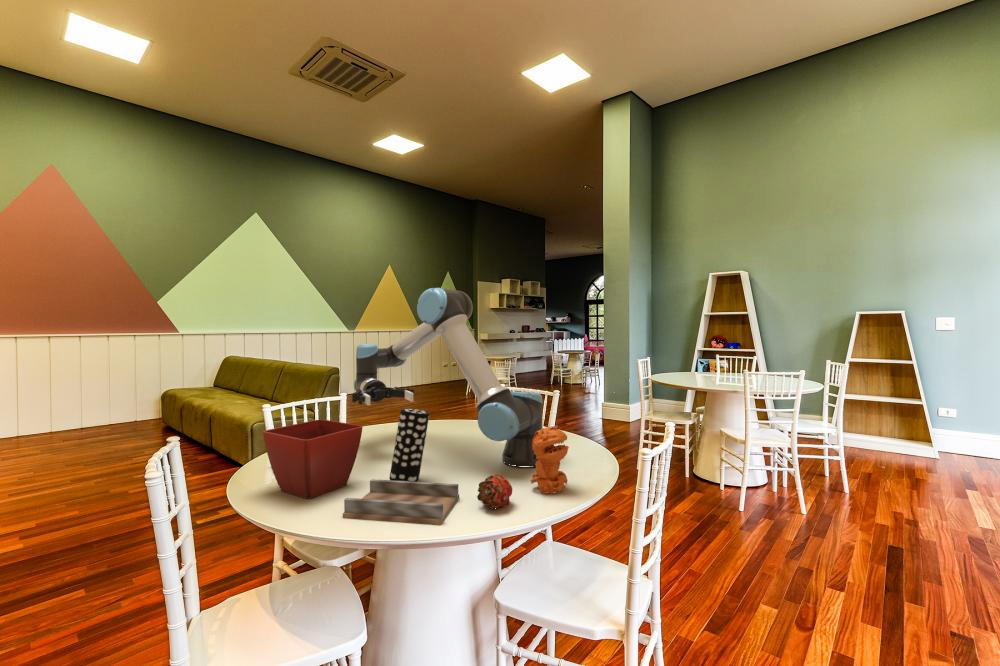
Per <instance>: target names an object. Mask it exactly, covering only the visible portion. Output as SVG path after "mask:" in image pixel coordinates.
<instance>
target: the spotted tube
mask: <svg viewBox="0 0 1000 666" xmlns="http://www.w3.org/2000/svg"><path fill="white" fill-rule="evenodd" d="M399 413H400V414H399V419H398V424H397V430H396V437H395V443H394V447H393V448H394V449H393V455H392V460H391V461H392V462H391V467H390V473H389V478H388V480H394V481H412V482H420V481H419V480H420V475H421V467H422V461H423V456H424V450H425V444H426V439H427V438H426V437H427V432H428V426H429V419H430V412H429V411H428V410H424V409H418V408H412V407H411V408H408V407H407V408H404V407H403V408H401V409H400V411H399Z"/></svg>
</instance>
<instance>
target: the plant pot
mask: <svg viewBox="0 0 1000 666" xmlns="http://www.w3.org/2000/svg"><path fill="white" fill-rule="evenodd" d="M363 428H364V427H363V425H358V424H352V423H347V422H342V421H336V420H335V421H334V420H329V419H323V418H320V419H319V418H318V419H313V420H309V421H304V422H300V423H294V424H289V425H285V426H284V425H283V426H280V427H275V428H270V429H266V430H263V431H262V434H263V440H264V446H265V450H266V454H267V457H268V462H269V464H270V466H271V467H270V468H271V470H272V473H273V476H274V478H275V480H276V483H277V485H278V486H279V490H281V491H282V492H285V493H288V494H292V495H294V494H295V496H298V497H301V498H304V497H305V498H304V499H313V498H315V496H316V497H318V496H321V495H324V494H327V493H329V492H332V491H334V490H337V489H339V488H342V487H345V486H347V485H348V484H347V483H348V482H349V479H350V476H351V474H352V471H353V468H354V465H355V462H356V459H357V455H358V452H359V447H360V444H361V443H360V442H361V439H362V432H363ZM312 497H313V498H312Z"/></svg>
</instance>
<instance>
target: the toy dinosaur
mask: <svg viewBox="0 0 1000 666" xmlns="http://www.w3.org/2000/svg"><path fill="white" fill-rule="evenodd" d="M558 427H559V425H557V424H555V425H554V426H546V427H544V428H542V429H541V430H539V431H536V432H535V435H534V437H533V442H532V447H533V448H532V449H533V451H534V454H535V455H536V459H538V460H539V461H536V463H535V466H536V467H535V472H534V473H533V474H532V478H531V479H529V481H530V482H529V483H531V485H533V484H534V483H537V487H538V491H540V490H541V491H543V492H548V493H547V494H554V493H553V492H557V493H559V492H561V491H562V489H564V490H566V485H568V477H567V475H566V474H567V473H565V472H564V471H562V470H561V471H560V466H561V462H560V461H562V460H563V459H565V457H566V456H567V454H568V452H569V451H568V450H569V448H570V447H569V446H568V445H565V443H564V442H565V441H567V440H568V435H567V434H566V432H564V431H563V430H561V429H560V428H558ZM535 436H536V437H535ZM534 438H535V439H534ZM541 491H540V492H541ZM558 491H559V492H558ZM543 492H542V493H543Z"/></svg>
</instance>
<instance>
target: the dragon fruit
mask: <svg viewBox="0 0 1000 666" xmlns="http://www.w3.org/2000/svg"><path fill="white" fill-rule="evenodd" d="M477 492H478V494H477V495H476V498H477V500H478V501H480V502H482V505H485V506H487V507H488V508H489V509H492V510H494V509H495V508H496V510H498V509H499V508H500V506H501V507H505V506H506V507H508V506H509V504H510V497H511V496H512V495H513V486H512V484H511V483H510V482H509V480H507V478H505V477H504V476H503V475H502V474H500V473H495V474H494V475H489V476H487V477H486V478H485V480H484V481H481V482H479V483H478V489H477Z"/></svg>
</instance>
